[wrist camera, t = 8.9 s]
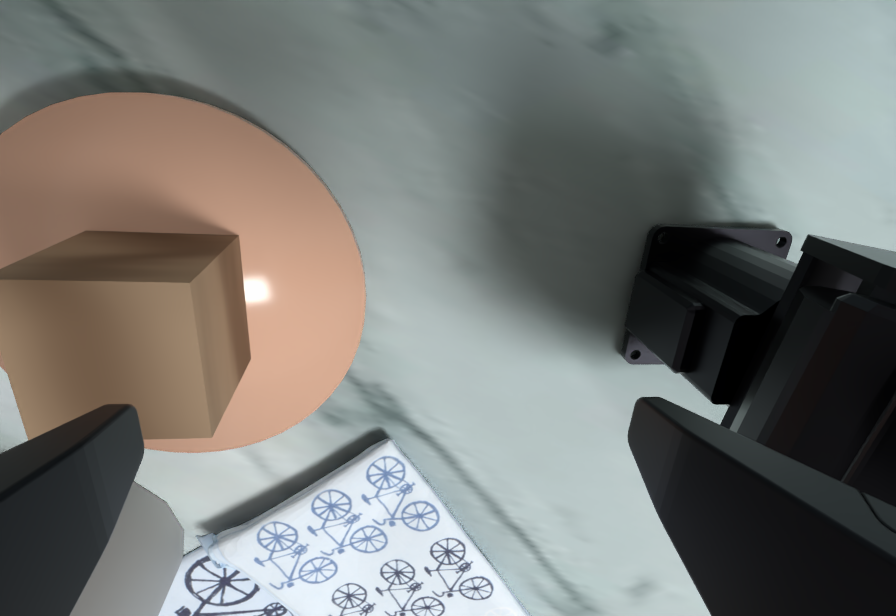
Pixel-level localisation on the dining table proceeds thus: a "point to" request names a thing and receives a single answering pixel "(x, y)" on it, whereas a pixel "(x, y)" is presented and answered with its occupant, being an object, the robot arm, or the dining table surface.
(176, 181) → the salmon pink disc
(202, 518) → the dining table surface
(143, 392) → the walnut block
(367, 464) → the patterned cloth
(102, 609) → the cup
